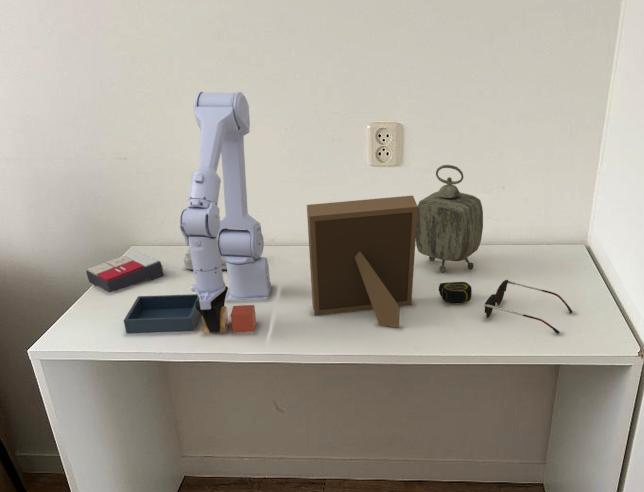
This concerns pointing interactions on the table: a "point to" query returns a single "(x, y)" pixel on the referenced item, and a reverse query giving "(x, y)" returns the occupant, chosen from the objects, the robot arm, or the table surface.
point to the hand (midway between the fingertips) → (216, 326)
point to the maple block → (223, 321)
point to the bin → (162, 314)
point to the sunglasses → (498, 299)
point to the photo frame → (363, 256)
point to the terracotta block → (243, 318)
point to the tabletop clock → (449, 223)
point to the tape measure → (455, 292)
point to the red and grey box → (124, 271)
